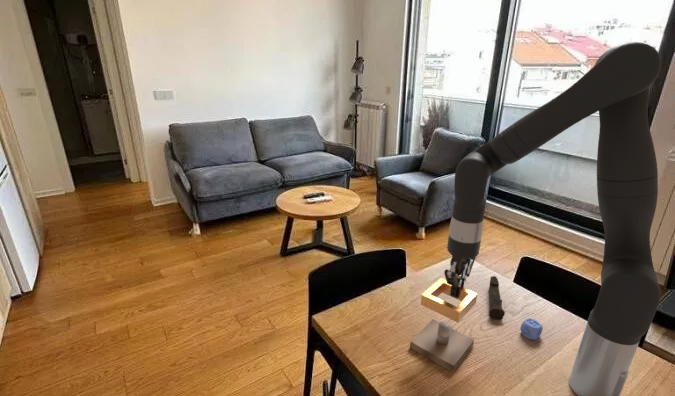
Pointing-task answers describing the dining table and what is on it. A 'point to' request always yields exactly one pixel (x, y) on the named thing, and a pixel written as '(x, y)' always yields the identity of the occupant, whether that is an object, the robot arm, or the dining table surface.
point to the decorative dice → (531, 329)
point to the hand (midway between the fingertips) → (456, 294)
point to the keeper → (442, 344)
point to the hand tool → (495, 300)
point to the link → (444, 307)
